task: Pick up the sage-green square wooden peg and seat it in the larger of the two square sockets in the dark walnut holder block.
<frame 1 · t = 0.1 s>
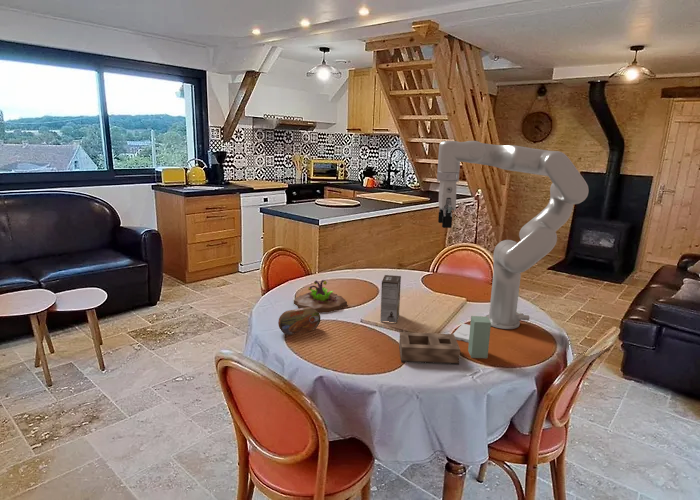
hand: (444, 225, 159), 37 cm above the table, tool pointing down, fingers open, 9 cm apart
external hard drive: (467, 336, 156), on the table
coffee box: (389, 319, 169), on the table
tin: (299, 332, 156), on the table
square peg: (477, 354, 141), on the table
socket block: (427, 355, 140), on the table
plant: (320, 305, 183), on the table
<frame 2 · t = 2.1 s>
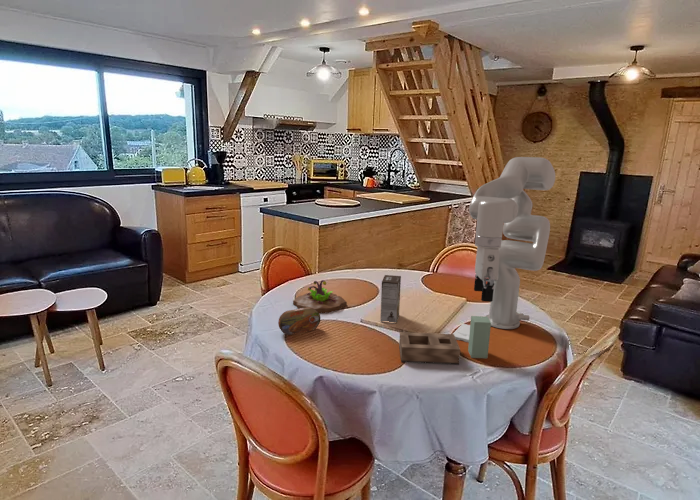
hand: (482, 295, 136), 20 cm above the table, tool pointing down, fingers open, 9 cm apart
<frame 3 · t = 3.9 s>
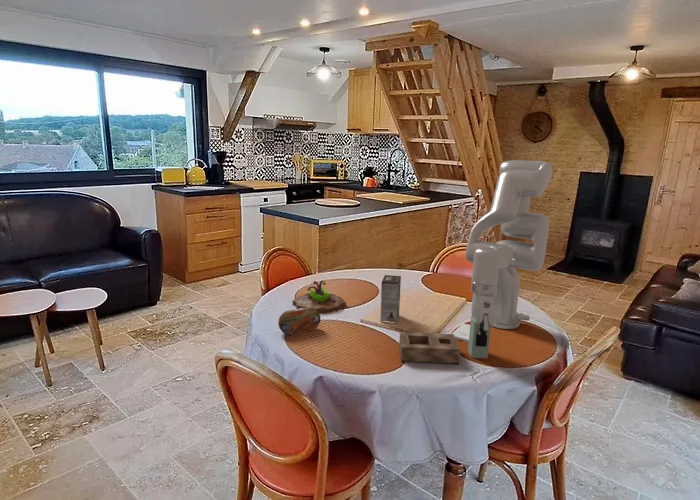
hand: (478, 341, 140), 4 cm above the table, tool pointing down, fingers closed on square peg, 5 cm apart
square peg: (477, 354, 141), on the table, touching gripper
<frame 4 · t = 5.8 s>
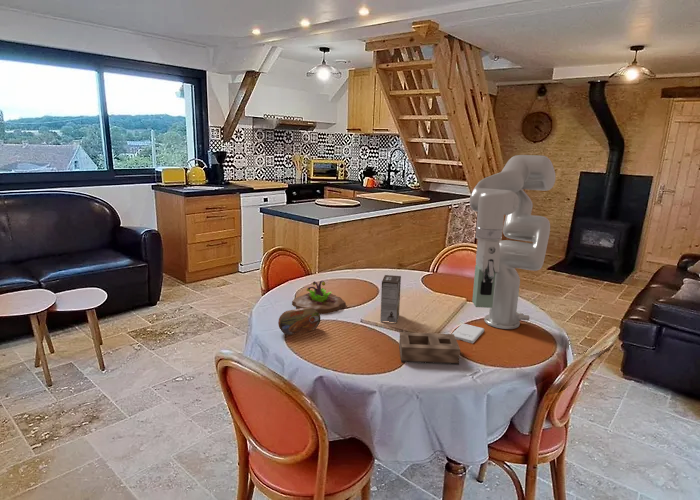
hand: (483, 290, 136), 21 cm above the table, tool pointing down, fingers closed on square peg, 5 cm apart
square peg: (482, 304, 137), point 17 cm above the table, touching gripper
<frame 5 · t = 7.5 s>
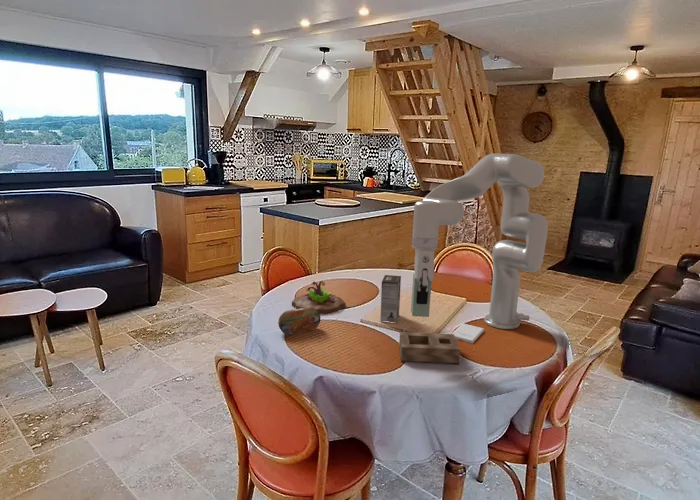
hand: (420, 299, 136), 18 cm above the table, tool pointing down, fingers closed on square peg, 5 cm apart
square peg: (419, 313, 137), point 14 cm above the table, touching gripper
when the fingers open (7 cm above the table, at t = 9.9 s): square peg drops 2 cm, resting on socket block.
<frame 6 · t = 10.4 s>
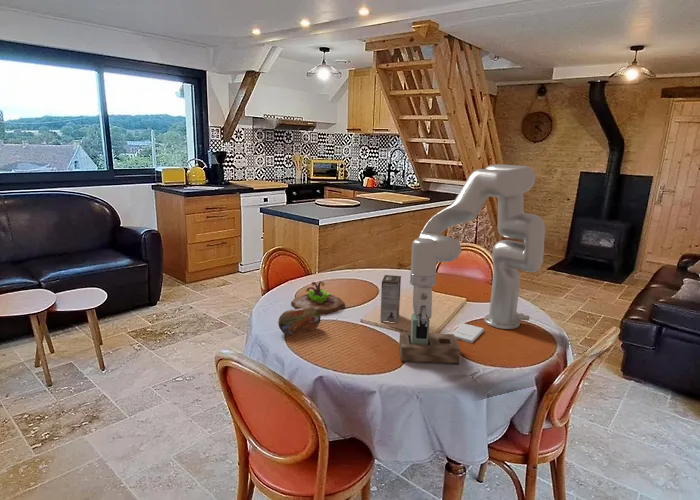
hand: (419, 331, 138), 8 cm above the table, tool pointing down, fingers open, 9 cm apart
square peg: (418, 352, 140), point 1 cm above the table, touching socket block
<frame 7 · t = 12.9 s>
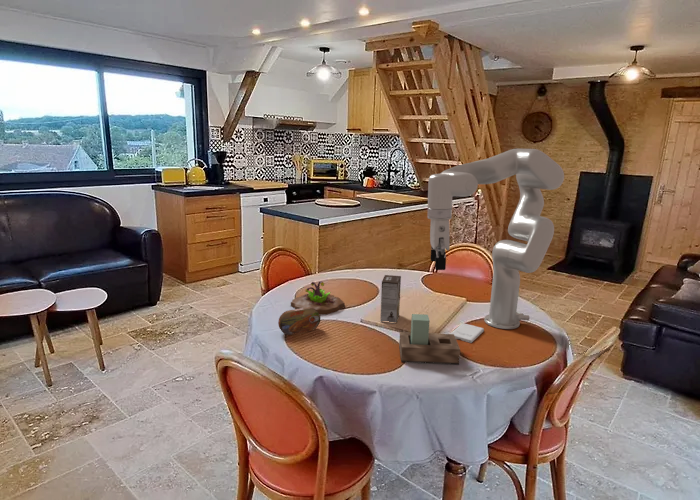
hand: (437, 265, 144), 27 cm above the table, tool pointing down, fingers open, 9 cm apart
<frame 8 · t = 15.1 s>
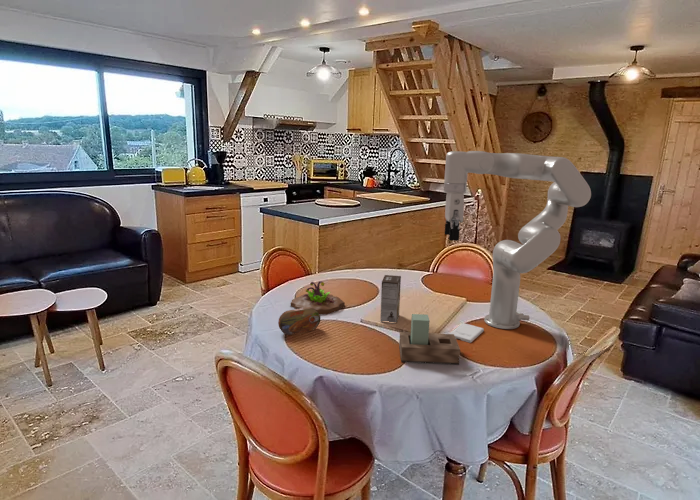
hand: (451, 237, 155), 33 cm above the table, tool pointing down, fingers open, 9 cm apart
at the end: square peg 0.1 cm from the target spot on the socket block, point 0.6 cm above the socket block's base; square peg tilted 0°; the gripper is holding nothing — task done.
